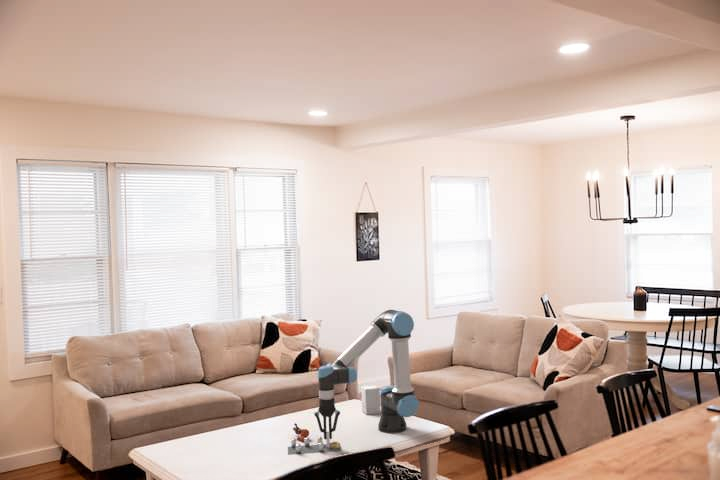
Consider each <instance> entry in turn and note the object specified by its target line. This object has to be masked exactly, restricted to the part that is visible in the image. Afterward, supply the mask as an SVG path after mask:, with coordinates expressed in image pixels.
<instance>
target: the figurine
mask: <svg viewBox="0 0 720 480" xmlns="http://www.w3.org/2000/svg"><path fill="white" fill-rule="evenodd" d="M294 426H295V427H293V428H292V430H293V431H294V433H295V434H296V435H298V437H296V442H297V441H300V442H301V441H302V442H304V438H308V436H310V431H309V429H307V428H302V429H301V428H300V427H298V424H297V423H294Z"/></svg>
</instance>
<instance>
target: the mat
mask: <svg viewBox="0 0 720 480" xmlns="http://www.w3.org/2000/svg"><path fill="white" fill-rule="evenodd" d="M338 443H339V448H338V449H331V448H330V446H328V447H327V444H326V443H323V449H324V451H323V452H319V448H318V444H309V447H305V445H301V453H300V454H299V455H304V454H306V455H307V454H319V453H320V454H321V453H331V452H332V453H333V452H334V453H335V452H342V451H343V450H342V446H341V443H340V442H338ZM287 455H289V456H290V455H291V456H292V455H297V454H296V448H292V447H291V446H287Z"/></svg>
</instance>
